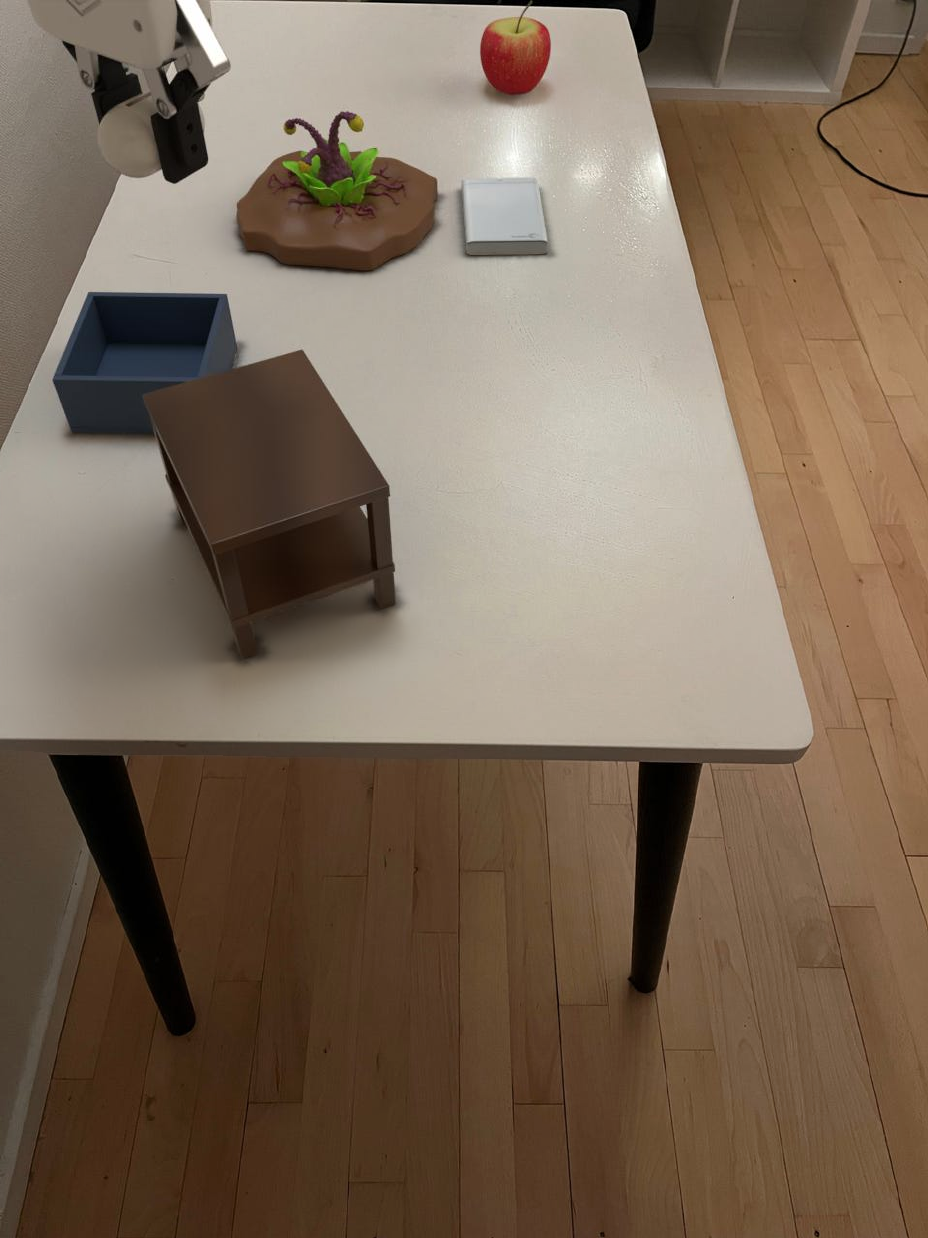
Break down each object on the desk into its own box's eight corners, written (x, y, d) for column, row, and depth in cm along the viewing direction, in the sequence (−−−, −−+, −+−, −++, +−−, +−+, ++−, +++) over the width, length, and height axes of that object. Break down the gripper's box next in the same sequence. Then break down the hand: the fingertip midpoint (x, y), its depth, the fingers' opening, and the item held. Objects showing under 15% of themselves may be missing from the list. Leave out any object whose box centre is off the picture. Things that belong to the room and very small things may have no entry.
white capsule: (141, 198, 62) (124, 129, 58) (93, 177, 63) (74, 109, 60) (223, 149, 65) (212, 82, 62) (177, 131, 67) (163, 64, 64)
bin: (215, 435, 89) (203, 381, 85) (71, 432, 89) (51, 379, 85) (237, 346, 97) (226, 293, 93) (104, 344, 97) (88, 291, 93)
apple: (556, 101, 128) (563, 12, 120) (488, 108, 126) (490, 19, 119) (538, 71, 133) (543, -16, 125) (472, 78, 131) (473, -10, 124)
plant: (394, 287, 103) (388, 177, 94) (213, 250, 107) (191, 142, 98) (459, 186, 115) (460, 81, 106) (294, 157, 119) (282, 52, 110)
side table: (241, 661, 74) (210, 544, 65) (176, 515, 83) (141, 394, 74) (397, 604, 78) (389, 485, 68) (318, 469, 87) (302, 348, 77)
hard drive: (548, 239, 106) (537, 175, 113) (466, 241, 105) (461, 176, 113) (547, 254, 107) (536, 190, 115) (466, 256, 107) (461, 191, 114)
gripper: (-106, -225, 51) (17, 147, 65) (141, -161, 45) (217, 233, 59) (17, -257, 55) (108, 100, 69) (260, -202, 49) (305, 176, 63)
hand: (158, 158), depth 64 cm, fingers closed on white capsule, 4 cm apart
